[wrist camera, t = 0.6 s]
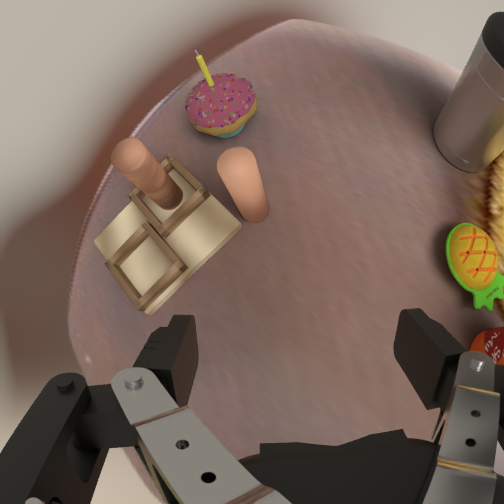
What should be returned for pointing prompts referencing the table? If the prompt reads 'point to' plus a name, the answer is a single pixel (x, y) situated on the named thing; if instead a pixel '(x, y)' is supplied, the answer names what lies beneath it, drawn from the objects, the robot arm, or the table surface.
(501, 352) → the paper cup
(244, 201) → the peg
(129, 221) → the board
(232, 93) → the cupcake
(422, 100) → the table surface
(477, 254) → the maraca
